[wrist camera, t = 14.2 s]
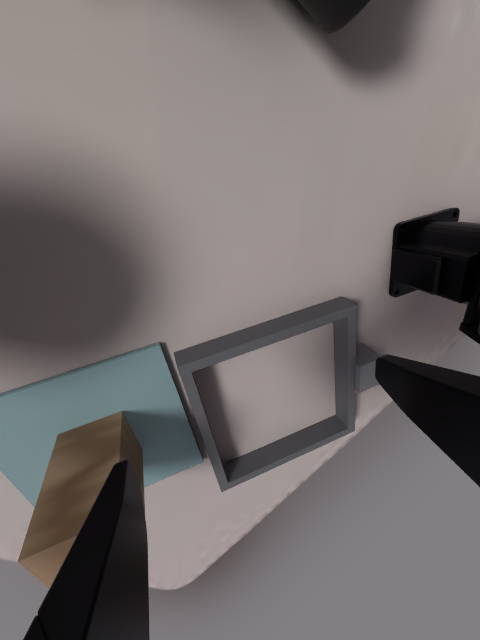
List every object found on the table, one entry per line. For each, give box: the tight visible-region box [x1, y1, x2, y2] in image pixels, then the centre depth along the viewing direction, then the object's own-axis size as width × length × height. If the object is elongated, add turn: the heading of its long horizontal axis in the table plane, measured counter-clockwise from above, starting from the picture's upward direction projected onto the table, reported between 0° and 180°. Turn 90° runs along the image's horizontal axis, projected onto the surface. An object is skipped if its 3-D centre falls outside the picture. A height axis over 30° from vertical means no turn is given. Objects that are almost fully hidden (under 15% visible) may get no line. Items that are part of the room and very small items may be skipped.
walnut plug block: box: [18, 411, 145, 589], centre depth 18 cm, size 4×4×8 cm
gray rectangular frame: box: [174, 297, 381, 492], centre depth 25 cm, size 17×15×3 cm
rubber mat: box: [0, 343, 203, 507], centre depth 22 cm, size 13×13×1 cm
